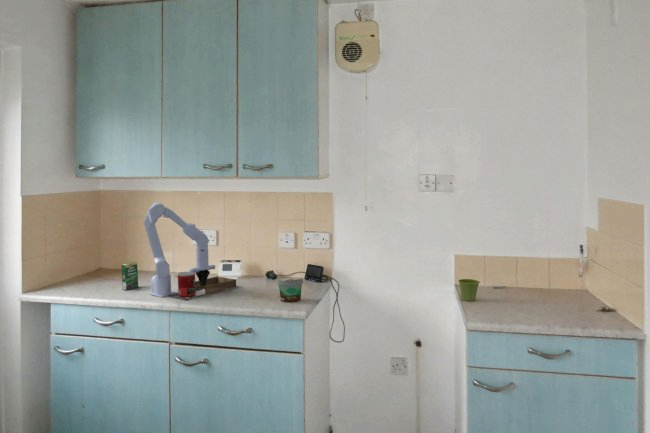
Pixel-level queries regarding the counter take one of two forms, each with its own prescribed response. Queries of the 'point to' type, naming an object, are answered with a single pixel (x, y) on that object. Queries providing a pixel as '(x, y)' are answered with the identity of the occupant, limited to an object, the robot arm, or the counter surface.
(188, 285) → the canned food
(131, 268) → the coffee box
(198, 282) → the wooden tray
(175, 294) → the frame
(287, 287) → the food container
